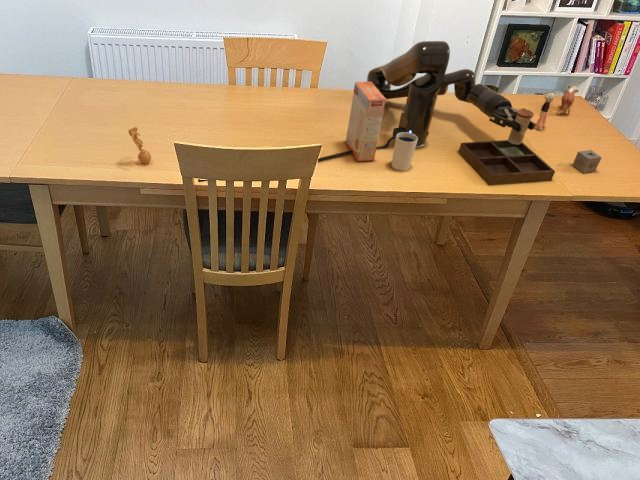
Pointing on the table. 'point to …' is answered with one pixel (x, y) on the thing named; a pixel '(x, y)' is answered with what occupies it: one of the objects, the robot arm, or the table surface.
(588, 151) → the gray cube
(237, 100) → the table surface
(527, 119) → the lidded canister
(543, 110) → the grandmother figurine
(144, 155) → the figurine
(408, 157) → the white cup
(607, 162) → the table surface
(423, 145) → the robot arm
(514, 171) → the grid
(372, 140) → the cracker box
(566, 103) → the bull figurine
